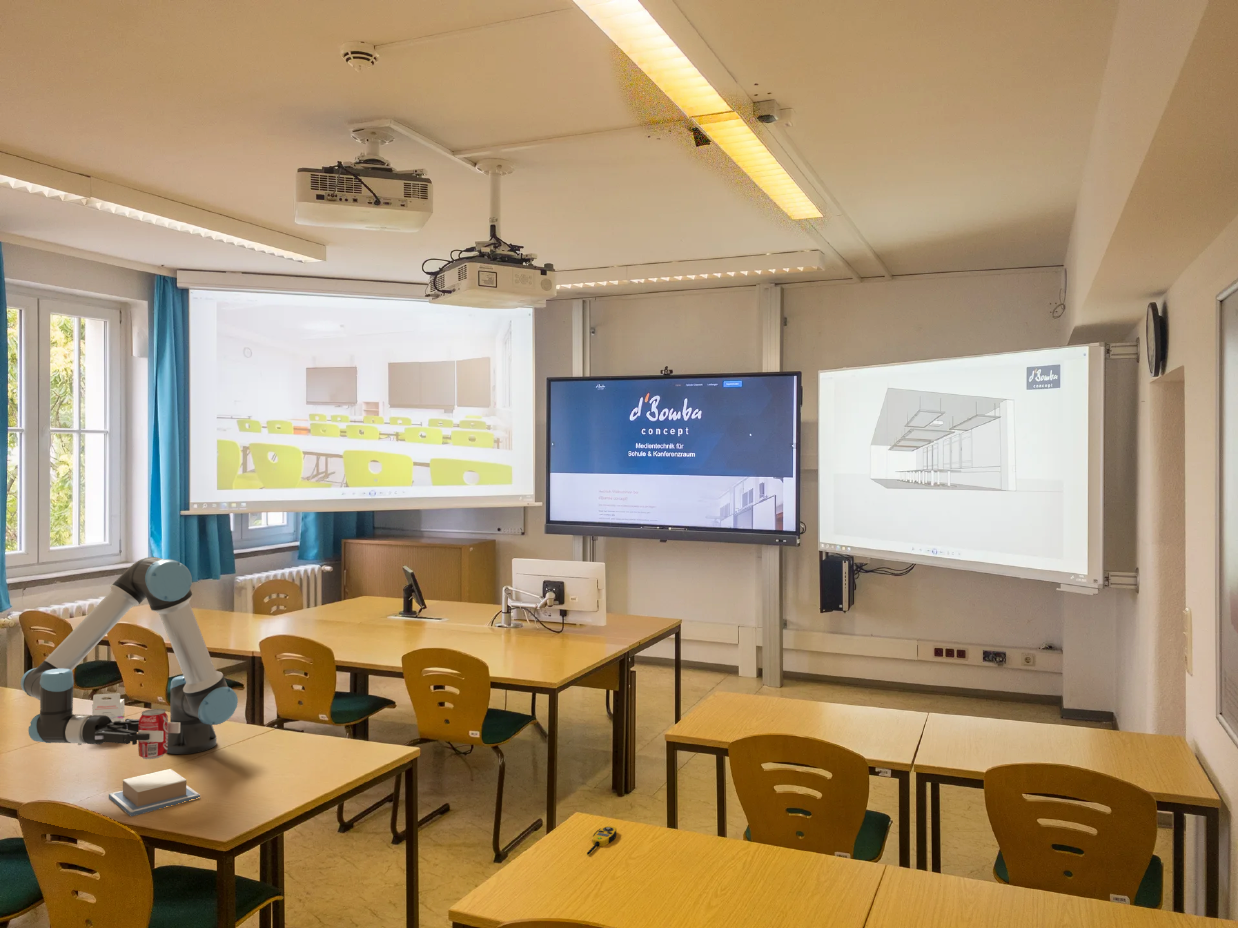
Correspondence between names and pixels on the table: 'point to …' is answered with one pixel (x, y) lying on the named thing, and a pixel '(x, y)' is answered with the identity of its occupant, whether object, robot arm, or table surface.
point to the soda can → (153, 722)
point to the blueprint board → (152, 792)
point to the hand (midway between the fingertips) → (171, 731)
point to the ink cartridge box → (109, 706)
